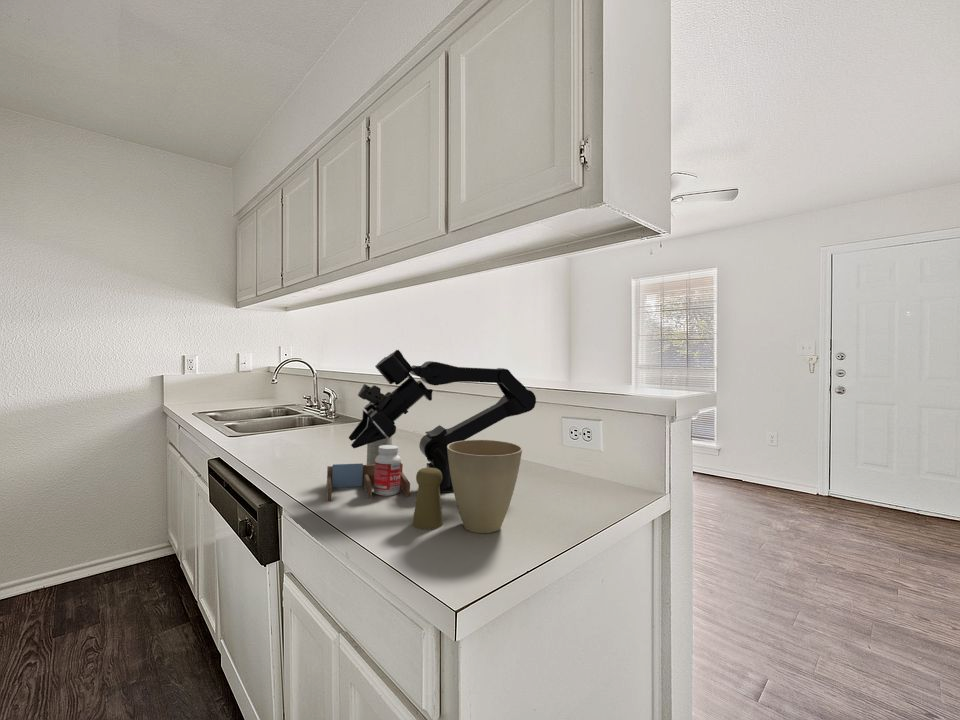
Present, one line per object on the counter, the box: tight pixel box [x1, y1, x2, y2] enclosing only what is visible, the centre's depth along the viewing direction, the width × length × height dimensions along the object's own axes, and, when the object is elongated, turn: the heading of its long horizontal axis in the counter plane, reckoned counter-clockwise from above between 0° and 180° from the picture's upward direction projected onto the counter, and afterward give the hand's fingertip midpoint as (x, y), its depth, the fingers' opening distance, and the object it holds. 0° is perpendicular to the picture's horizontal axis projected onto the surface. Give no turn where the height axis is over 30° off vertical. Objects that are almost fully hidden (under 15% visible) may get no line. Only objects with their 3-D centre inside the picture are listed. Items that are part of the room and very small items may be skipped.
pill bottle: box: [373, 444, 402, 497], centre depth 111 cm, size 6×6×11 cm
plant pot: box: [447, 439, 523, 534], centre depth 91 cm, size 15×15×16 cm
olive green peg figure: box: [411, 467, 443, 530], centre depth 92 cm, size 6×6×11 cm
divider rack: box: [326, 462, 411, 502], centre depth 111 cm, size 18×12×6 cm, turn 109°
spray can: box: [366, 401, 393, 465], centre depth 126 cm, size 7×7×20 cm
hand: (351, 442), depth 108 cm, fingers open, 9 cm apart
